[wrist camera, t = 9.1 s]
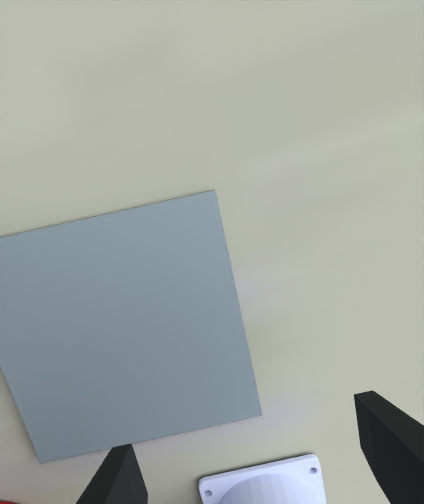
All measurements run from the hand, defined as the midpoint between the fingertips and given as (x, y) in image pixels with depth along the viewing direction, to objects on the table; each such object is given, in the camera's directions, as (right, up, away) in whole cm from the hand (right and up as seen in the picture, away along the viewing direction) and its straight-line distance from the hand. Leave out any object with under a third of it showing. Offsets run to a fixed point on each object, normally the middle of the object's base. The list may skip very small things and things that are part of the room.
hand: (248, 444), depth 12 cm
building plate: (-6, +1, +10) cm, 12 cm away
